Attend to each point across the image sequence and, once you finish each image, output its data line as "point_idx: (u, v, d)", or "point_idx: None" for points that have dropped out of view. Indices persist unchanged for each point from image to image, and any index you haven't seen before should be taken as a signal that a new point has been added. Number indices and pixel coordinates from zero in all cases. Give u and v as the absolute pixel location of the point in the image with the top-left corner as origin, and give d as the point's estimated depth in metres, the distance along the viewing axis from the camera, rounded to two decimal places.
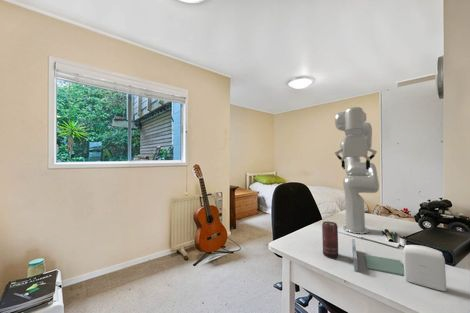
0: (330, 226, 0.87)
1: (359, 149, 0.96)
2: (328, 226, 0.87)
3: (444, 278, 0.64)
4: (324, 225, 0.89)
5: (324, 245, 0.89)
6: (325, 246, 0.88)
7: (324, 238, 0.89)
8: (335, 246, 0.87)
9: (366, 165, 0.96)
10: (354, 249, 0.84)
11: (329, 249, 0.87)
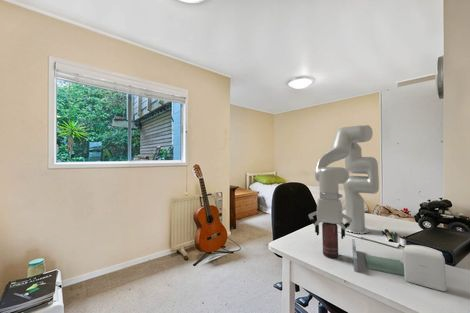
0: (330, 226, 0.87)
1: (333, 216, 0.87)
2: (328, 226, 0.87)
3: (444, 278, 0.64)
4: (324, 225, 0.89)
5: (324, 245, 0.89)
6: (325, 246, 0.88)
7: (324, 238, 0.89)
8: (335, 246, 0.87)
9: (341, 234, 0.86)
10: (354, 249, 0.84)
11: (329, 249, 0.87)
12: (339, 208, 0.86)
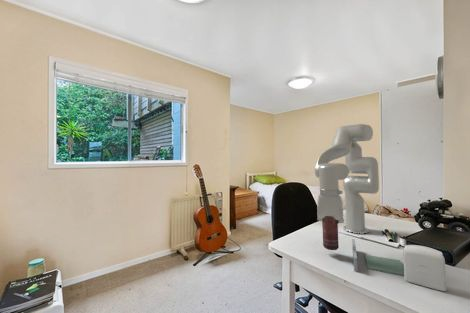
0: (330, 218, 0.87)
1: (334, 212, 0.87)
2: (328, 218, 0.88)
3: (444, 278, 0.64)
4: (324, 217, 0.89)
5: (324, 237, 0.89)
6: (325, 238, 0.89)
7: (324, 231, 0.89)
8: (335, 238, 0.87)
9: None
10: (354, 249, 0.84)
11: (329, 241, 0.87)
12: (339, 204, 0.86)
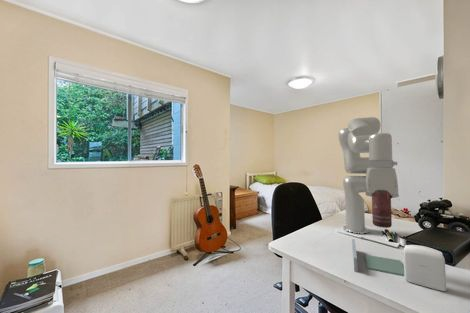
0: (383, 192, 0.78)
1: (387, 185, 0.78)
2: (381, 192, 0.79)
3: (444, 278, 0.64)
4: (375, 192, 0.80)
5: (375, 214, 0.80)
6: (377, 215, 0.80)
7: (376, 206, 0.80)
8: (389, 214, 0.78)
9: None
10: (354, 249, 0.84)
11: (382, 217, 0.78)
12: (394, 176, 0.78)
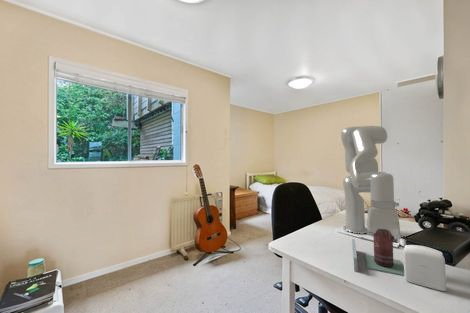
0: (385, 232, 0.78)
1: (389, 227, 0.78)
2: (382, 232, 0.78)
3: (444, 278, 0.64)
4: (377, 230, 0.80)
5: (377, 253, 0.80)
6: (379, 254, 0.79)
7: (377, 245, 0.80)
8: (391, 254, 0.78)
9: None
10: (354, 249, 0.84)
11: (383, 257, 0.78)
12: (396, 218, 0.77)
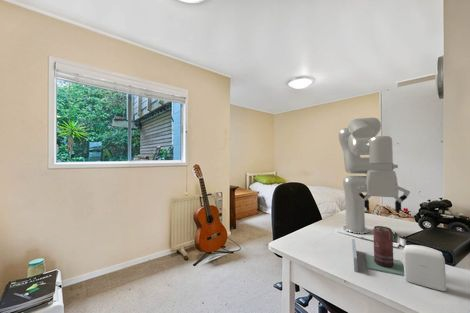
0: (385, 232, 0.78)
1: (388, 188, 0.78)
2: (382, 232, 0.78)
3: (444, 278, 0.64)
4: (377, 230, 0.80)
5: (377, 253, 0.80)
6: (379, 254, 0.79)
7: (377, 245, 0.80)
8: (391, 254, 0.78)
9: (396, 208, 0.78)
10: (354, 249, 0.84)
11: (383, 257, 0.78)
12: (395, 179, 0.78)
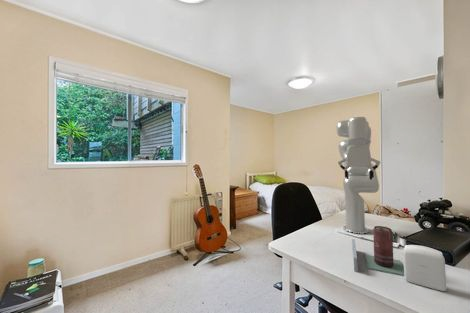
0: (385, 232, 0.78)
1: (363, 159, 0.95)
2: (382, 232, 0.78)
3: (444, 278, 0.64)
4: (377, 230, 0.80)
5: (377, 253, 0.80)
6: (379, 254, 0.79)
7: (377, 245, 0.80)
8: (391, 254, 0.78)
9: (370, 175, 0.95)
10: (354, 249, 0.84)
11: (383, 257, 0.78)
12: (368, 152, 0.95)
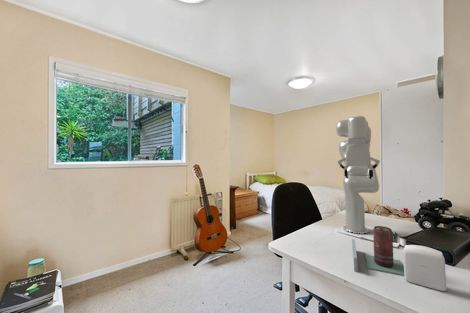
0: (385, 232, 0.78)
1: (362, 158, 0.96)
2: (382, 232, 0.78)
3: (444, 278, 0.64)
4: (377, 230, 0.80)
5: (377, 253, 0.80)
6: (379, 254, 0.79)
7: (377, 245, 0.80)
8: (391, 254, 0.78)
9: (369, 175, 0.96)
10: (354, 249, 0.84)
11: (383, 257, 0.78)
12: (367, 151, 0.95)
